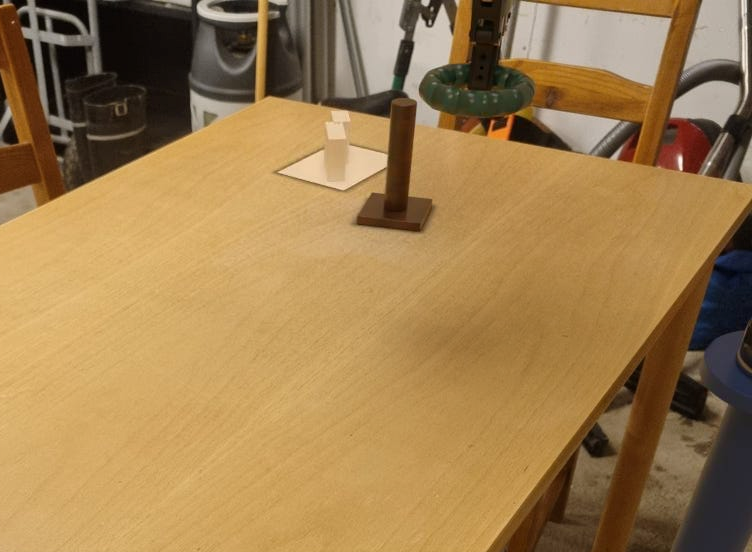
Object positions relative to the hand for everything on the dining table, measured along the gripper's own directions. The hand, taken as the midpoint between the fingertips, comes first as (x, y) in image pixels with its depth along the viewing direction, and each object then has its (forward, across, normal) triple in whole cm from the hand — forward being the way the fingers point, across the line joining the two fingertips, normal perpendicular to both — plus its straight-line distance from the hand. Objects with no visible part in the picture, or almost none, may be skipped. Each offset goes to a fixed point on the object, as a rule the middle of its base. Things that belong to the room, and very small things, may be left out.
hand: (481, 87), depth 85 cm
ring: (-1, -4, 0) cm, 4 cm away
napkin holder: (+22, +38, +21) cm, 49 cm away
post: (+21, +23, +11) cm, 33 cm away
